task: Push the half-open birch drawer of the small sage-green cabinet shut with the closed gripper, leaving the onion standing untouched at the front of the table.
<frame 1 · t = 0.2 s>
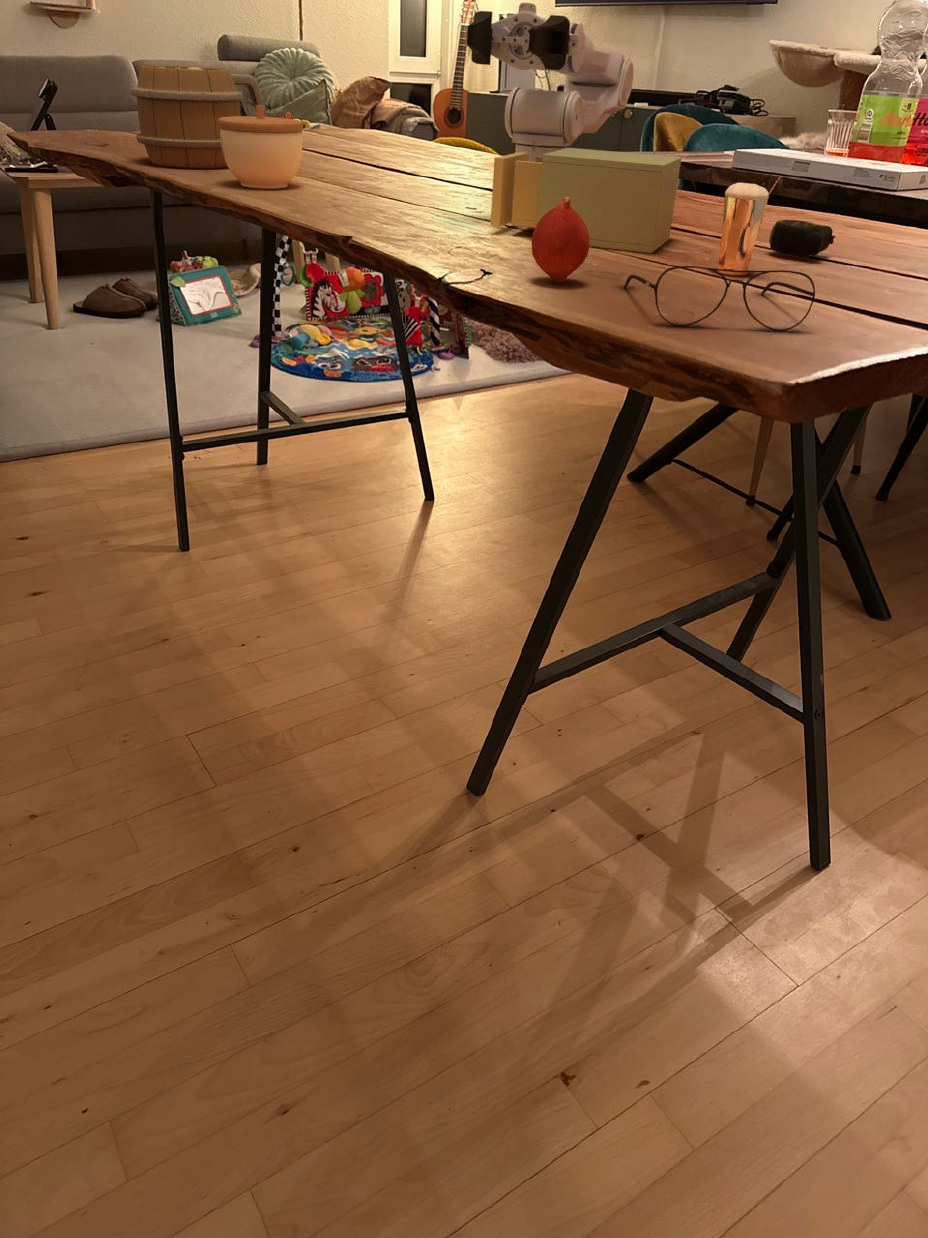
hand: (500, 37, 108), 21 cm above the table, tool horizontal, fingers open, 7 cm apart
glasses: (709, 310, 88), on the table
onion: (556, 283, 95), on the table
tape measure: (801, 258, 115), on the table
mug: (209, 164, 168), on the table
cabinet: (603, 239, 118), on the table
milkshake: (735, 275, 103), on the table
lidded bowl: (264, 186, 146), on the table
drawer: (551, 192, 118), point 5 cm above the table, slide at 5.0 cm
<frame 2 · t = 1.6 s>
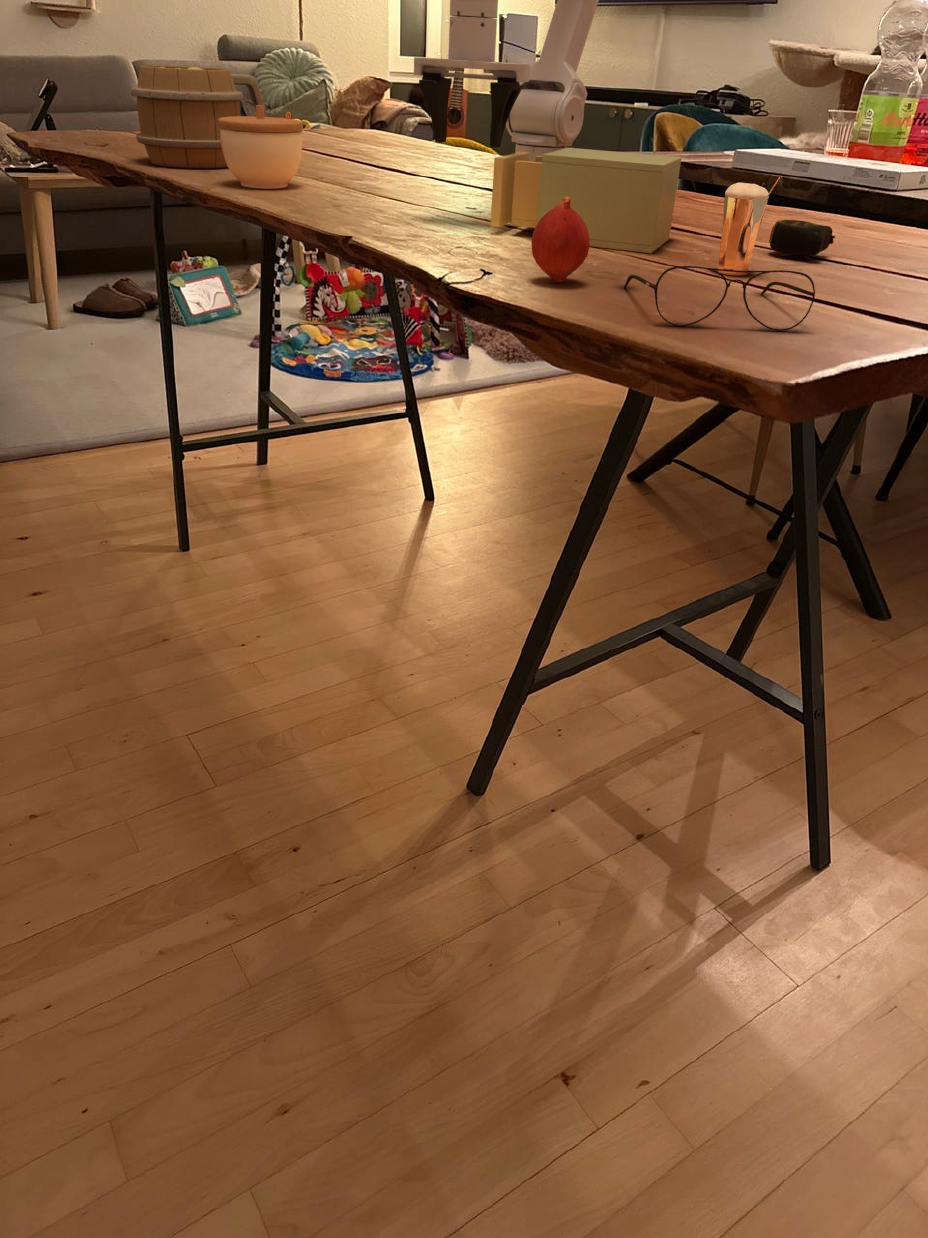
hand: (467, 144, 119), 9 cm above the table, tool pointing down, fingers open, 7 cm apart
nothing on the table moved.
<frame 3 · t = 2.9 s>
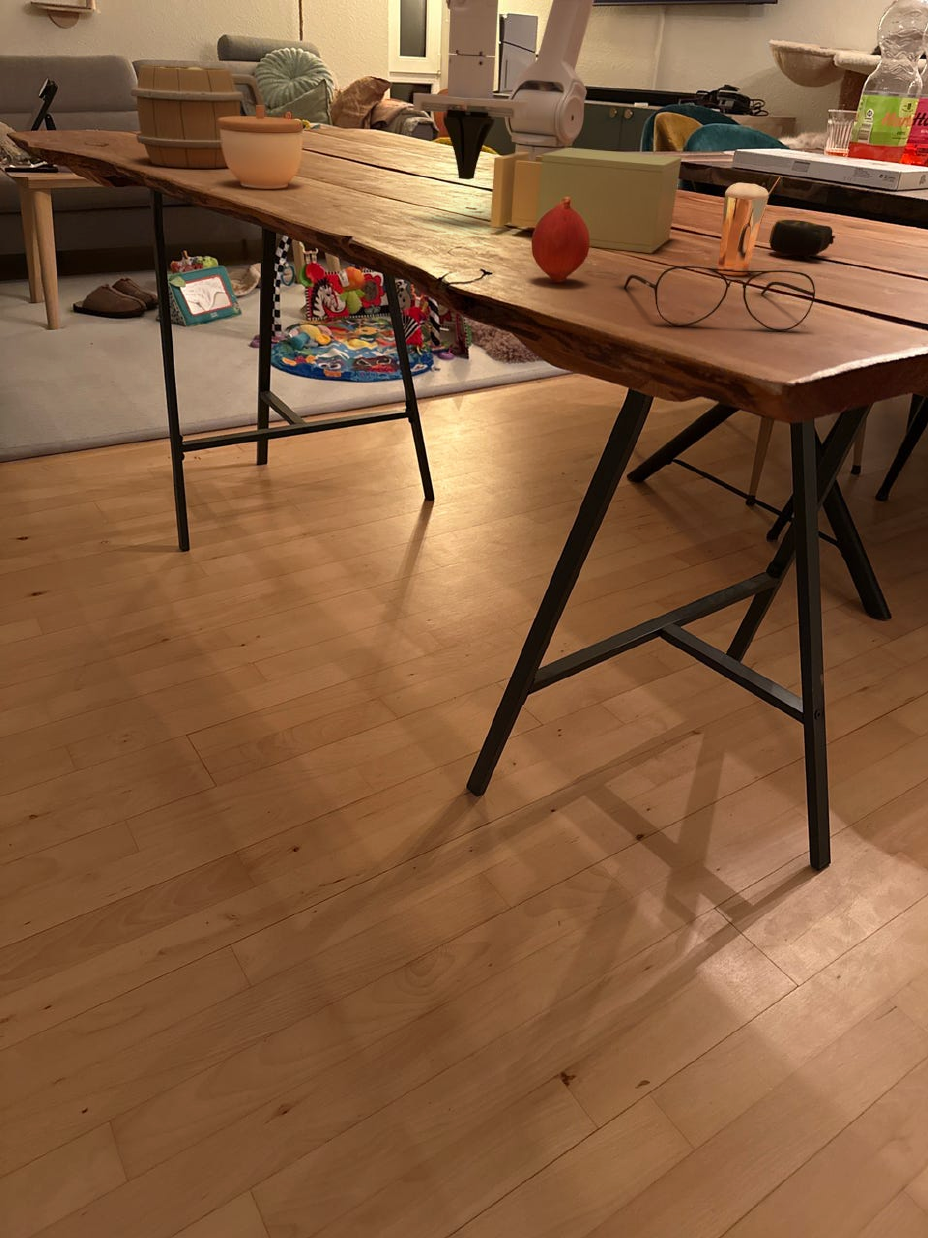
hand: (466, 178, 121), 6 cm above the table, tool pointing down, fingers closed
nothing on the table moved.
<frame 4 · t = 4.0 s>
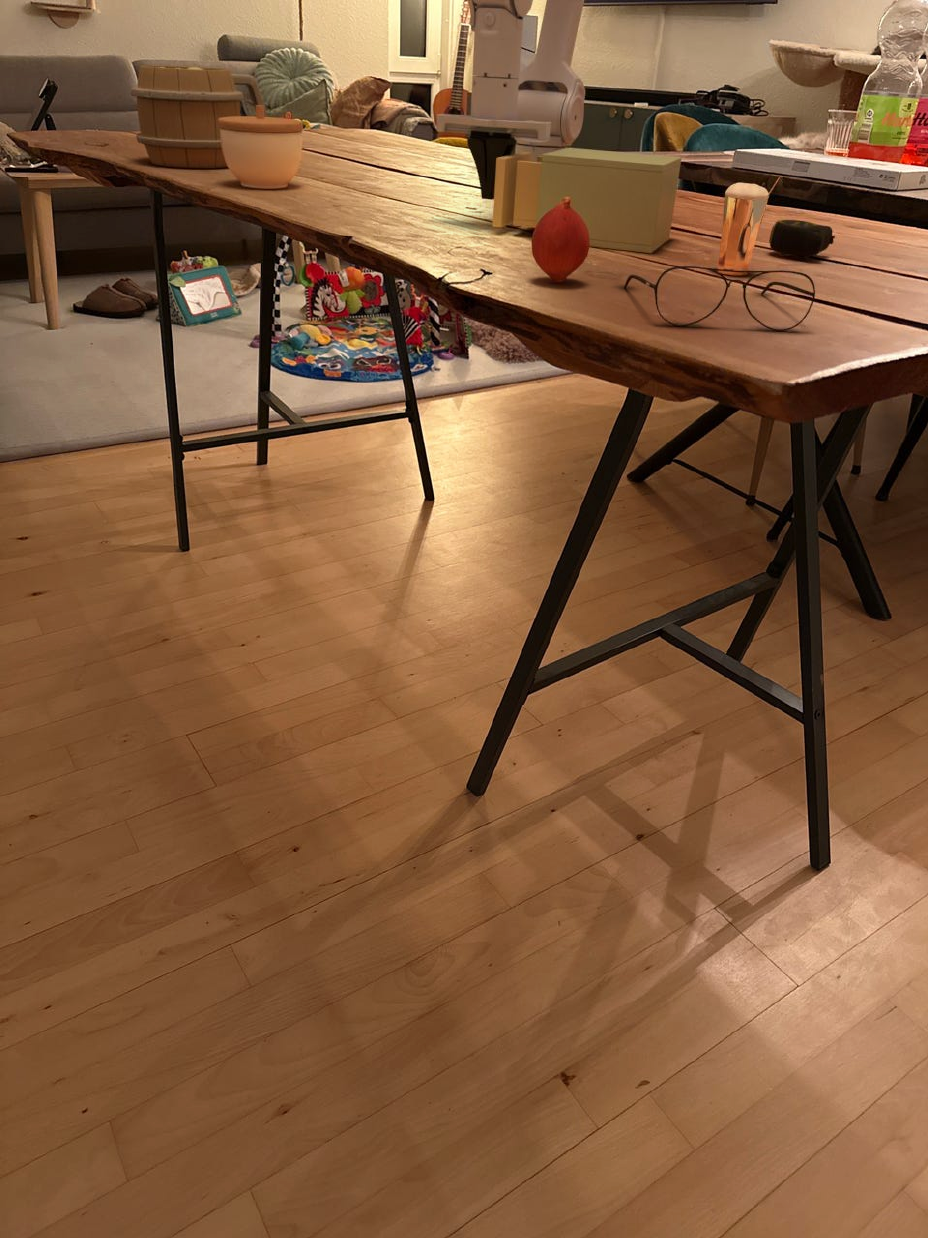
hand: (488, 198, 121), 3 cm above the table, tool pointing down, fingers closed
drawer: (553, 192, 118), point 5 cm above the table, slide at 4.7 cm, touching gripper
everything else where it was.
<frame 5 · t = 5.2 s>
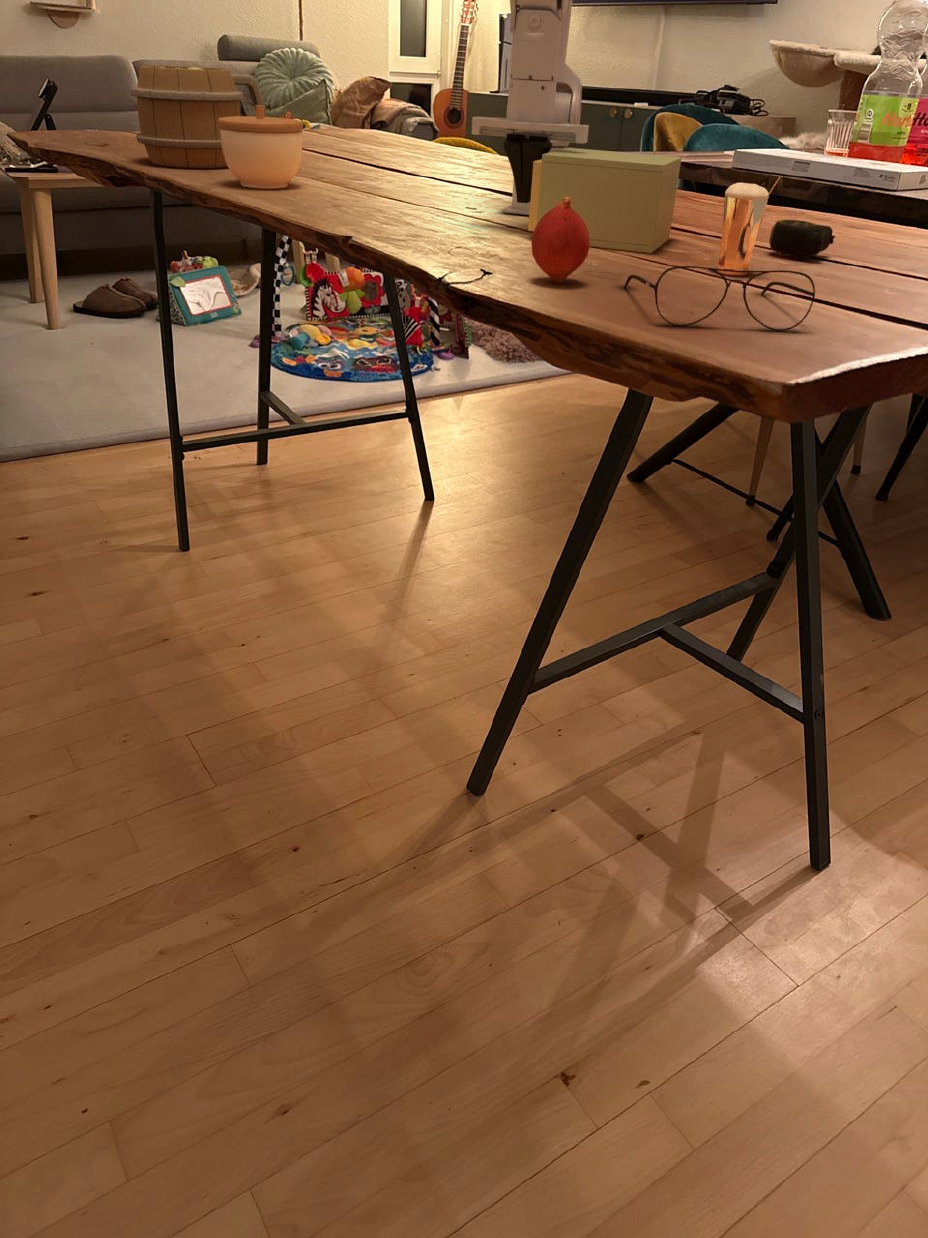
hand: (523, 201, 119), 3 cm above the table, tool pointing down, fingers closed, pressing on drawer
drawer: (590, 196, 116), point 5 cm above the table, slide at 0.0 cm, touching cabinet, gripper
everything else where it was.
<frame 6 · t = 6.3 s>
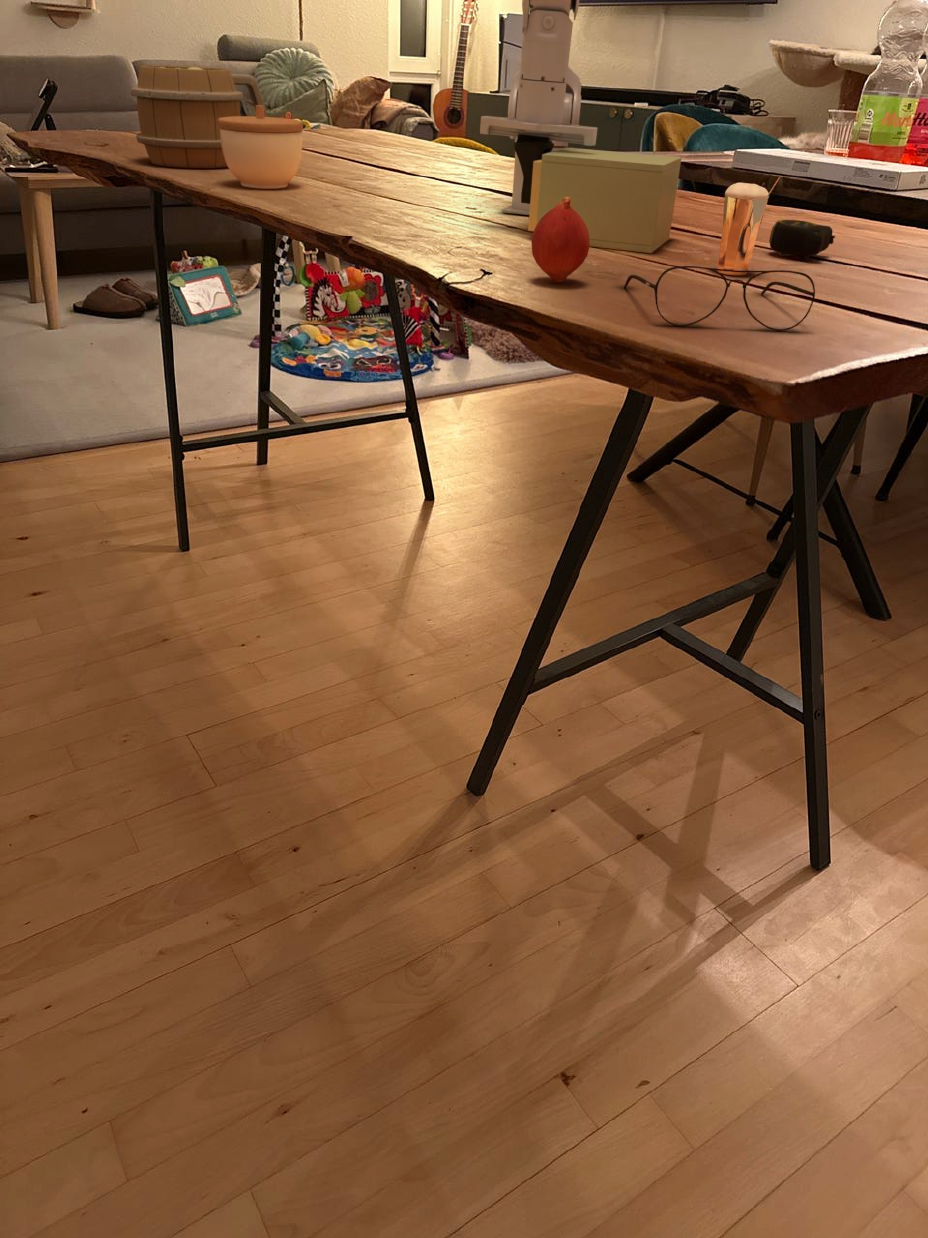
hand: (530, 202, 119), 3 cm above the table, tool pointing down, fingers closed, pressing on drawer
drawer: (590, 196, 116), point 5 cm above the table, slide at 0.0 cm, touching cabinet, gripper
everything else where it was.
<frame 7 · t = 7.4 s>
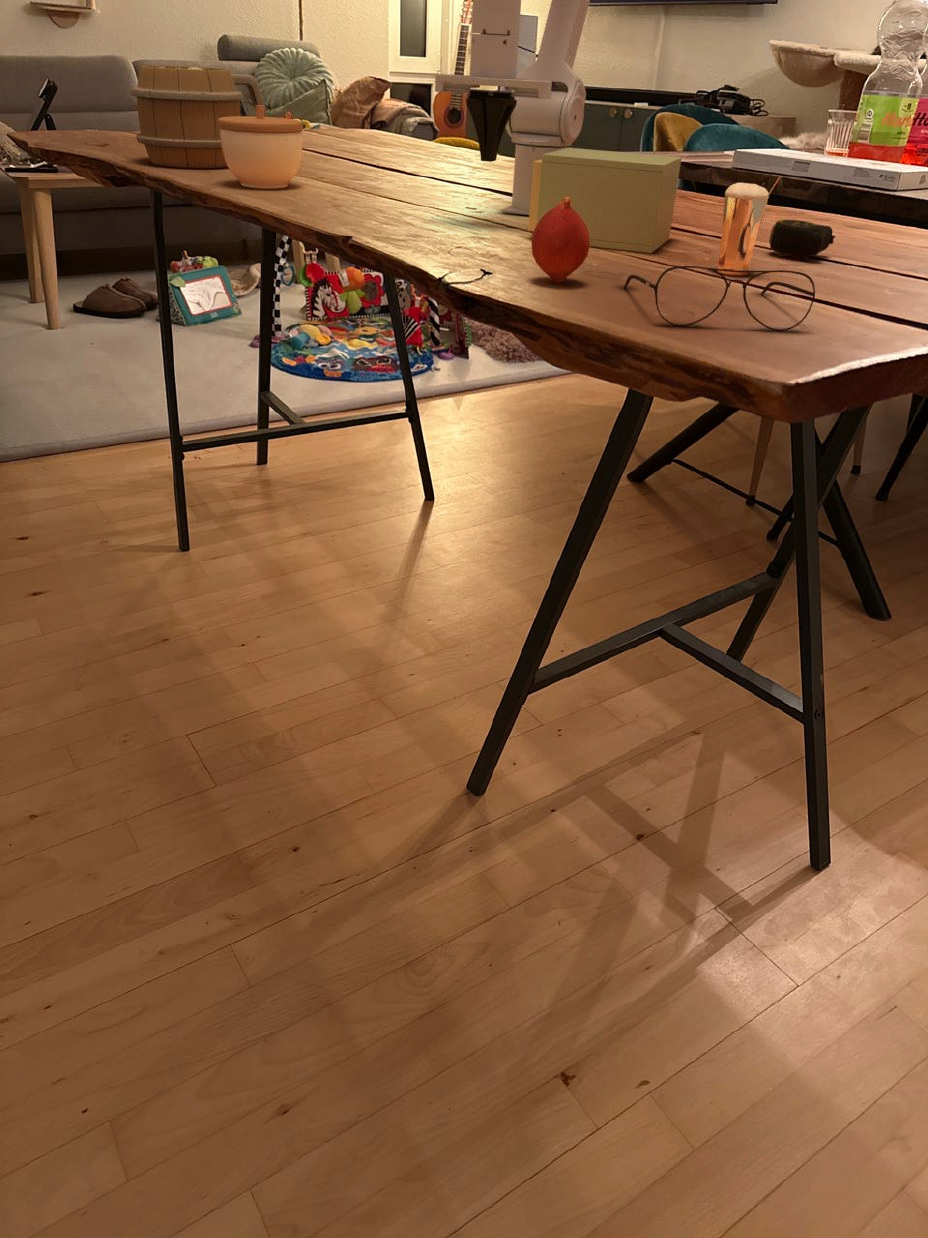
hand: (488, 160, 119), 8 cm above the table, tool pointing down, fingers closed
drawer: (590, 196, 116), point 5 cm above the table, slide at 0.0 cm, touching cabinet
everything else where it was.
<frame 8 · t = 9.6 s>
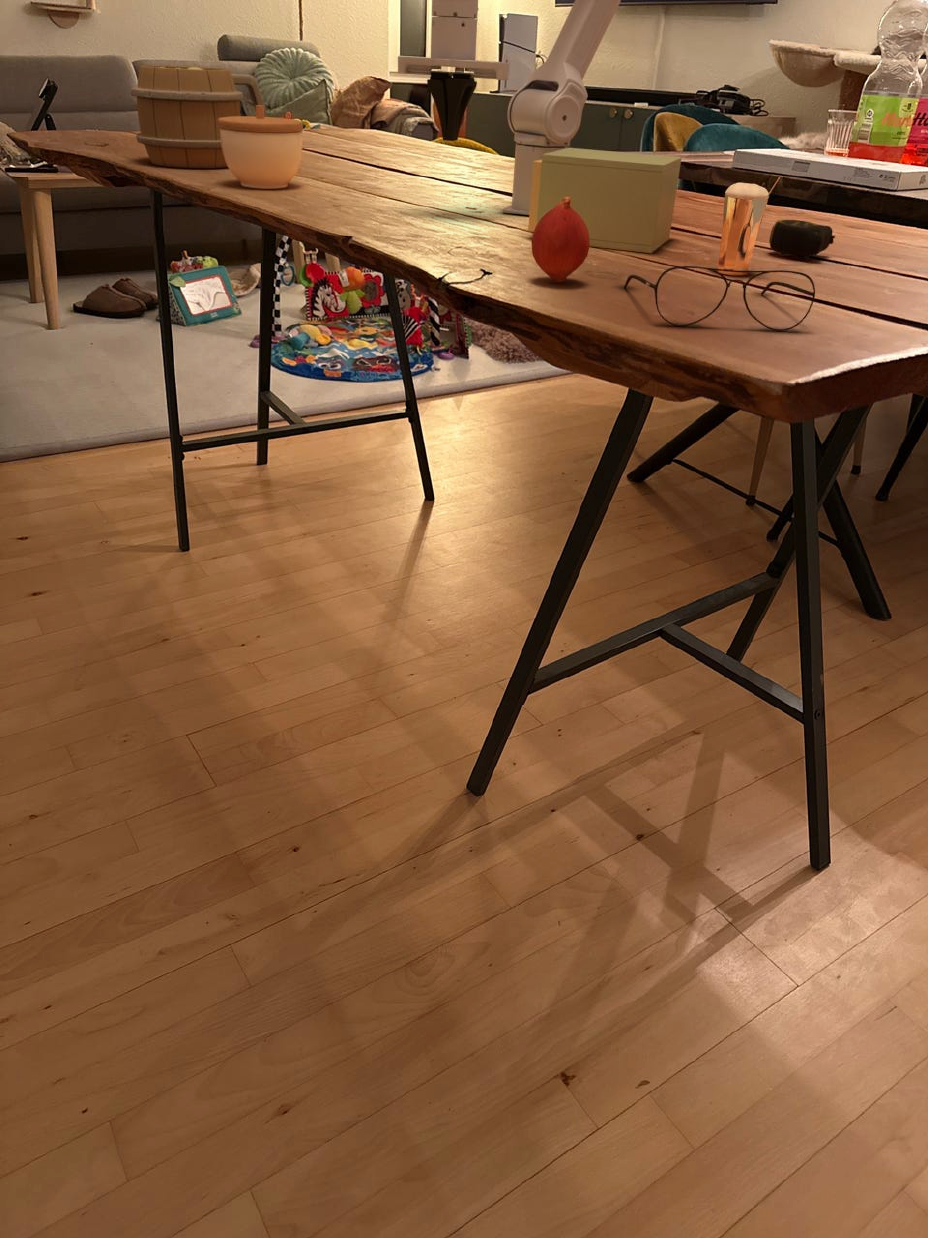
hand: (450, 140, 123), 9 cm above the table, tool pointing down, fingers closed
nothing on the table moved.
at the end: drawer slide at 0.0 cm; onion moved 0.2 cm from its start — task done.
